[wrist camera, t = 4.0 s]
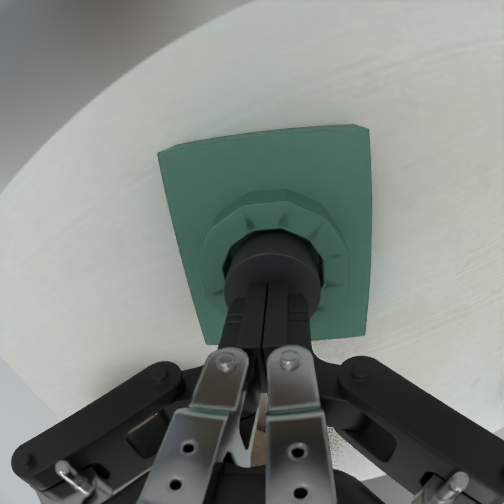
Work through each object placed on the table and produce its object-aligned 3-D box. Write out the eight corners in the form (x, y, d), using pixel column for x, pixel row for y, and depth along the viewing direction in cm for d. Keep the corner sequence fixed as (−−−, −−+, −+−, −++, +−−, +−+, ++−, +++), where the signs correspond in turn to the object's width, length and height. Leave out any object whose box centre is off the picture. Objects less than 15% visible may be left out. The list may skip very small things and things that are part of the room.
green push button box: (176, 144, 17) (138, 161, 12) (355, 124, 15) (382, 132, 11) (214, 316, 22) (199, 367, 17) (357, 307, 20) (371, 359, 16)
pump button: (224, 235, 14) (214, 257, 12) (314, 227, 13) (319, 248, 12) (238, 308, 16) (232, 335, 14) (318, 303, 15) (321, 330, 13)
